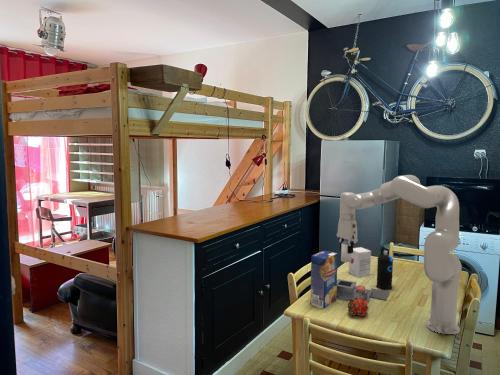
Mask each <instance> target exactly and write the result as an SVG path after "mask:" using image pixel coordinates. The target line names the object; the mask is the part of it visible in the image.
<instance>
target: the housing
mask: <svg viewBox="0 0 500 375" xmlns="http://www.w3.org/2000/svg"><path fill="white" fill-rule="evenodd" d="M356 286H357V282H356V281H351V280H347V279H346V280H345V279H339V278H337V294H336V300H340V301H346V302H349V300H350V299H354V298H363V299H364V300H366V301H367V303H368V304H369V302H370V300H371V299H372V298H371V295H372V293H373V290H371V289H367V288H366V290H365V291H364V293H360V292H357V290H356Z"/></svg>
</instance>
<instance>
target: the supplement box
mask: <svg viewBox="0 0 500 375" xmlns="http://www.w3.org/2000/svg"><path fill="white" fill-rule="evenodd" d="M371 262H372V250H370V249H368V248H364V247H362V246H360V247H353V253H351V262H348V273H349V274H350V275H352V276H355V277H357V278H363V277H367V276H368V277H369V276H371Z"/></svg>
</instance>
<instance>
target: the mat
mask: <svg viewBox="0 0 500 375" xmlns="http://www.w3.org/2000/svg"><path fill="white" fill-rule="evenodd" d="M370 290H373V293H372V295H371V298H370V299H373V300H379V301H380V300H381V301H384V302H386V301H388V298H389V294H390V292H391V290H381V289H379V288H371V289H370Z"/></svg>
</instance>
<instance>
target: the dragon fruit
mask: <svg viewBox="0 0 500 375" xmlns="http://www.w3.org/2000/svg"><path fill="white" fill-rule="evenodd" d="M368 305H369V303H367V301H366V300H364V299H363V298H354V299H350V300H349V301H348V303H347V311H348V312H349V313H351V315H352V316H355V317H357V316H360V317H364V316H365V314H366V313H367V312H368V311H369V306H368Z"/></svg>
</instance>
